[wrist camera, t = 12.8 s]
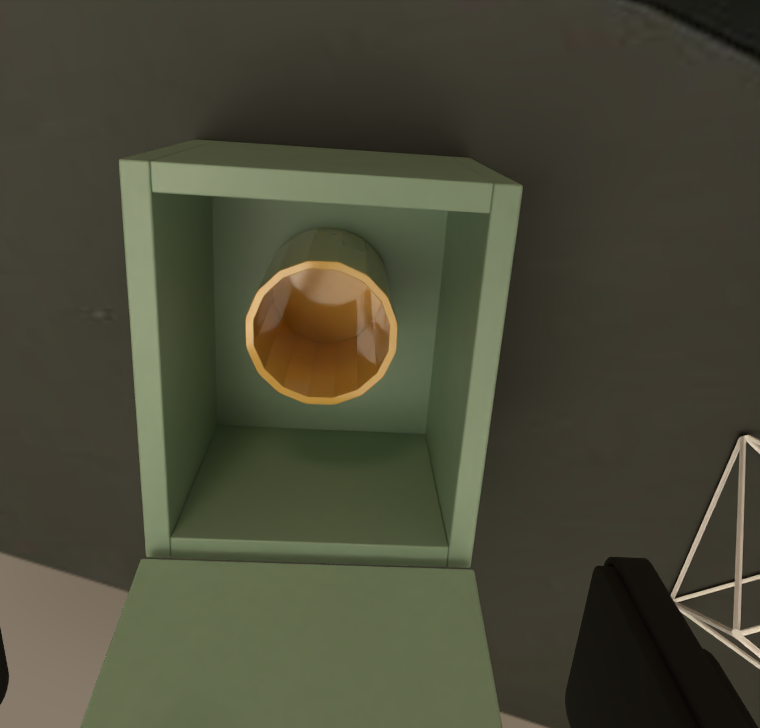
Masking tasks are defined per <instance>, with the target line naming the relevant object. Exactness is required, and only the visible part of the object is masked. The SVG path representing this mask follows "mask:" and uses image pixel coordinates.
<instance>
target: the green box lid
mask: <svg viewBox="0 0 760 728" xmlns="http://www.w3.org/2000/svg"><path fill="white" fill-rule="evenodd" d="M80 728H502V723H501V717H500V711H499V706H498V700H497V695H496V689H495V684H494V678H493V673H492V667H491V661H490V656H489V650H488V645H487V639H486V634H485V628H484V623H483V617H482V612H481V606H480V600H479V595H478V589H477V584H476V578H475V573H474V570H466V569H435V568H404V567H374V566H343V565H312V564H282V563H251V562H221V561H190V560H159V559H141V561H140V563H139V566H138V569H137V572H136V574H135V577H134V580H133V583H132V585H131V588H130V591H129V594H128V596H127V600H126V602H125V605H124V608H123V610H122V613H121V616H120V619H119V621H118V624H117V627H116V630H115V632H114V635H113V638H112V641H111V643H110V646H109V649H108V652H107V654H106V657H105V660H104V663H103V665H102V668H101V671H100V674H99V676H98V679H97V682H96V685H95V688H94V690H93V693H92V696H91V699H90V701H89V704H88V707H87V710H86V712H85V715H84V718H83V721H82V723H81V726H80Z"/></svg>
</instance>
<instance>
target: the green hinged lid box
mask: <svg viewBox="0 0 760 728" xmlns="http://www.w3.org/2000/svg"><path fill="white" fill-rule="evenodd" d="M119 172H120V186H121V201H122V215H123V230H124V244H125V258H126V273H127V287H128V302H129V316H130V330H131V345H132V359H133V373H134V388H135V402H136V417H137V431H138V445H139V460H140V474H141V489H142V503H143V517H144V532H145V546H146V556H147V557H159V558H170V557H171V556H172V558H186V559H217V560H247V561H278V562H308V563H338V564H369V565H399V566H430V567H446V565H447V566H448V567H467V568H469V567H470V566H471V559H472V552H473V545H474V538H475V531H476V523H477V516H478V509H479V502H480V495H481V487H482V480H483V473H484V466H485V458H486V451H487V444H488V437H489V430H490V422H491V415H492V408H493V401H494V393H495V386H496V379H497V372H498V365H499V357H500V350H501V343H502V336H503V329H504V321H505V314H506V307H507V300H508V292H509V285H510V278H511V271H512V264H513V256H514V249H515V242H516V235H517V228H518V220H519V213H520V206H521V199H522V191H523V186H522V185H520V184H518V183H517V182H515V181H513V180H511V179H509V178H507V177H505V176H503V175H501V174H499V173H497V172H496V171H494V170H492V169H490V168H488V167H486V166H484V165H482V164H480V163H478V162H476V161H474V160H473V159H471V158H465V157H450V156H435V155H420V154H405V153H391V152H376V151H361V150H346V149H331V148H316V147H301V146H286V145H271V144H256V143H241V142H226V141H211V140H196V139H195V140H191V141H188V142H184V143H180V144H176V145H172V146H168V147H164V148H161V149H157V150H153V151H149V152H145V153H141V154H138V155H134V156H130V157H126V158H122V159H119ZM317 228H338V229H342V230H346V231H349V232H351V233H354V234H356V235H357V236H359V237H361V238H362V239H364V240H365V241H366V242H368V243H369V244H370V245H371V246H372V247H373V248H374V249H375V251H376V252H377V253H378V254H379V256H380V257H381V259H382V261H383V263H384V266H385V268H386V271H387V274H388V277H389V280H390V285H391V290H392V295H393V300H394V306H395V311H396V316H397V321H398V334H397V350H396V354H395V356H394V358H393V360H392V362H391V364H390V366H389V368H388V369H387V371H386V373H385V375H384V377H383V378H382V379H381V380H380V381H378V382H377V383H376V384H375V385H374V386H373V387H371V388H370V389H369V390H368V391H367V392H365V393H364V394H363V395H361V396H359V397H356V398H353V399H350V400H347V401H344V402H341V403H338V404H334V405H328V404H306V403H303V402H300V401H298V400H295V399H293V398H291V397H288V396H286V395H283V394H281V393H279V392H278V391H277V390H275V389H274V388H273V387H272V386H271V385H270V384H269V383H268V382H267V381H266V380H265V379H264V378H263V377H262V376H261V375H260V374H259V373H258V372H257V370H256V368H255V366H254V363H253V361H252V359H251V357H250V355H249V353H248V350H247V348H246V331H245V318H246V315H247V313H248V310H249V308H250V306H251V303H252V301H253V299H254V296H255V294H256V292H257V290H258V288H259V286H260V284H261V282H262V280H263V278H264V276H265V274H266V272H267V270H268V268H269V266H270V264H271V262H272V260H273V258H274V256H275V255H276V253H277V252H278V251H279V250H280V249H281V248H282V247H283V246H284V245H285V244H286V243H287V242H288V241H289V240H291V239H292V238H294V237H295V236H297V235H298V234H301V233H303V232H305V231H308V230H312V229H317Z"/></svg>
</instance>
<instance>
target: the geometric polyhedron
mask: <svg viewBox="0 0 760 728" xmlns="http://www.w3.org/2000/svg"><path fill="white" fill-rule="evenodd" d="M746 441H747V442H748V443H749V444H750V445H751V446H752V447H753V448H754V449H755V450H756V451H757V452H758V453H759V454H760V446H759V445H760V440H759V439H757V438H755V437H752V436H750V435H745V436H742V437H739V439H738V441H737V444H736V446H735V448H734V451H733V453H732V455H731V457H730V460H729V462H728V464H727V467H726V469H725V471H724V474H723V476H722V478H721V480H720V483H719V485H718V487H717V490H716V492H715V494H714V497H713V499H712V501H711V504H710V506H709V508H708V510H707V513H706V515H705V517H704V520H703V522H702V524H701V527H700V529H699V531H698V533H697V536H696V538H695V540H694V543H693V545H692V547H691V550H690V552H689V554H688V557H687V559H686V561H685V563H684V566H683V568H682V570H681V573H680V575H679V577H678V580H677V582H676V584H675V586H674V589H673V591H672V593H671V597H672V599H673V601H674V602H675V604H676V606H677V607H678V609H679V611H680V612H681V613H683V614H684V615H685V616H687V617H688V618H690V619H691V620H692V621H694V622H695V623H696V624H698V625H699V626H701V627H702V628H703V629H705V630H706V631H708V632H709V633H710V634H712V635H713V636H715V637H716V638H717V639H719V640H720V641H721V642H723V643H724V644H726V645H727V646H728V647H730V648H731V649H733V650H734V651H735V652H737V653H738V654H739V655H741V656H742V657H744V658H745V659H746V660H748V661H749V662H751V663H752V664H753V665H755V666H756V667H758V668H759V669H760V663H759V662H758V661H757V660H755V659H754V658H752V657H751V656H750V655H748V654H747V653H745V652H744V651H743V650H741V649H740V648H738V647H737V646H736V645H734V644H733V643H731V642H730V641H729V640H727V639H726V638H724V637H723V636H722V635H720V634H719V633H717V632H716V631H715V630H713V629H712V628H710V627H709V626H708V625H706V624H705V623H703V622H702V621H704V622H706V623H708V624H710V625H711V626H713V627H715V628H717V629H719V630H721V631H723V632H725V633H727V634H729V635H731V636H733V637H735V638H736V639H737V640H739V641H740V642H741V643H742V644H743V645H745V646H746V647H747V648H748V649H750V650H751V651H752V652H753V653H754V654H756V655H757V656H758V657H759V658H760V649H758V648H757V647H756V646H755V645H754V644H752V643H751V642H750V641H749V640H748V639H746V638H745V637H744V636H745V635H748V634H752V633H756V632H759V631H760V625H757V626H754V627H750V628H747V629H743V630H741V631H740V619H741V587H742V584H743V583H747V582H750V581H754V580H757V579H760V574H759V575H755V576H752V577H748V578H745V579H742V555H743V522H744V490H745V457H746ZM757 444H758V445H757ZM739 450H740V457H739V483H738V510H737V536H736V563H735V581H734V582H731V583H727V584H724V585H720V586H717V587H713V588H710V589H706V590H703V591H699V592H696V593H692V594H689V595H685V596H682V597H678V598H675V596H676V594H677V592H678V589H679V587H680V585H681V583H682V580H683V578H684V576H685V573H686V571H687V569H688V567H689V564H690V562H691V560H692V557H693V555H694V553H695V551H696V548H697V546H698V544H699V541H700V539H701V537H702V535H703V532H704V530H705V528H706V525H707V523H708V521H709V519H710V516H711V514H712V512H713V509H714V507H715V505H716V503H717V500H718V498H719V496H720V493H721V491H722V489H723V487H724V484H725V482H726V480H727V477H728V475H729V473H730V471H731V468H732V466H733V464H734V461H735V459H736V457H737V455H738V452H739ZM732 586H735V589H734V616H733V629H731V628H729V627H727V626H725V625H723V624H721V623H719V622H717V621H715V620H713V619H711V618H708V617H706V616H704V615H702V614H700V613H698V612H696V611H694V610H692V609H690V608H688V607H686V606H684V605H681V604H679V603H677V602H680V601H683V600H687V599H690V598H694V597H697V596H701V595H704V594H708V593H711V592H715V591H718V590H722V589H725V588H729V587H732ZM699 619H700V620H699ZM701 620H702V621H701Z"/></svg>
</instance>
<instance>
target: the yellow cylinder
mask: <svg viewBox="0 0 760 728" xmlns="http://www.w3.org/2000/svg"><path fill="white" fill-rule="evenodd" d="M245 331H246V348H247V350H248V353H249V355H250V357H251V359H252V361H253V363H254V366H255V368H256V370H257V372H258V373H259V374H260V375H261V376H262V377H263V378H264V379H265V380H266V381H267V382H268V383H269V384H270V385H271V386H272V387H273V388H274V389H275V390H277V391H278V392H279V393H281V394H283V395H286V396H288V397H291V398H293V399H295V400H298V401H300V402H303V403H306V404H328V405H334V404H338V403H341V402H344V401H347V400H350V399H353V398H356V397H359V396H361V395H363V394H364V393H365V392H367V391H368V390H369V389H370V388H371V387H373V386H374V385H375V384H376V383H377V382H378V381H380V380H381V379H382V378H383V377H384V375H385V373H386V371H387V369H388V368H389V366H390V364H391V362H392V360H393V358H394V356H395V354H396V350H397V334H398V321H397V316H396V311H395V306H394V300H393V295H392V290H391V285H390V280H389V277H388V274H387V271H386V268H385V266H384V263H383V261H382V259H381V257H380V256H379V254H378V253H377V252H376V251H375V249H374V248H373V247H372V246H371V245H370V244H369V243H368V242H366V241H365V240H364V239H362V238H361V237H359V236H357V235H356V234H354V233H351V232H349V231H346V230H342V229H338V228H317V229H312V230H308V231H305V232H303V233H301V234H298V235H297V236H295V237H294V238H292V239H291V240H289V241H288V242H287V243H286V244H285V245H284V246H283V247H282V248H281V249H280V250H279V251H278V252H277V253H276V255H275V256H274V258H273V260H272V262H271V264H270V266H269V268H268V270H267V272H266V274H265V276H264V278H263V280H262V282H261V284H260V286H259V288H258V290H257V292H256V294H255V296H254V299H253V301H252V303H251V306H250V308H249V310H248V313H247V315H246V318H245Z"/></svg>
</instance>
